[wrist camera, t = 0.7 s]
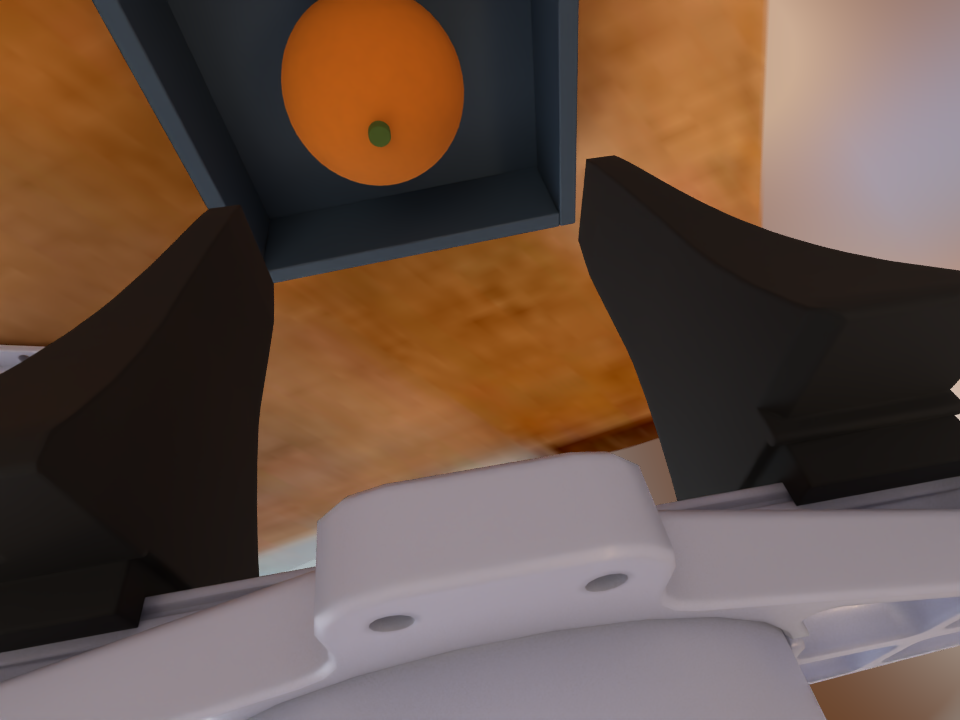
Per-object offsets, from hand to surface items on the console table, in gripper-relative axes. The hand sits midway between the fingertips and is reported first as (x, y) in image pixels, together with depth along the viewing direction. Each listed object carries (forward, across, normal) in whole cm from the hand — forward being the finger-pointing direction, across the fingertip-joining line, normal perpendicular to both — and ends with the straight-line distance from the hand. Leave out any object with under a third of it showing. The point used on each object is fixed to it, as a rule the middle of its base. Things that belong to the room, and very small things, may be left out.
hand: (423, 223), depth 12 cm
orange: (+10, +1, 0) cm, 10 cm away
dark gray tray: (+10, +1, 0) cm, 10 cm away
